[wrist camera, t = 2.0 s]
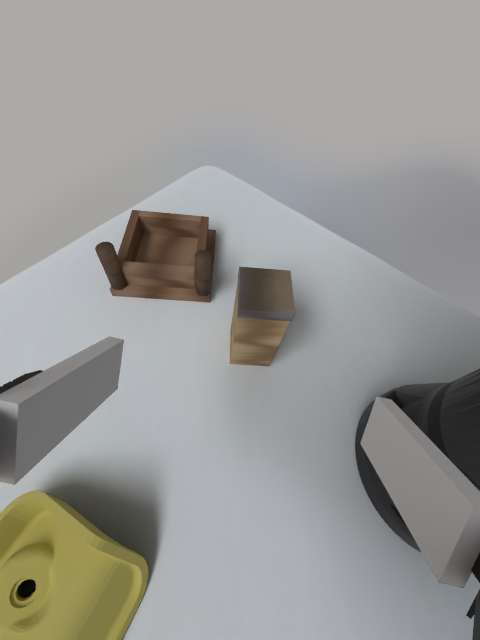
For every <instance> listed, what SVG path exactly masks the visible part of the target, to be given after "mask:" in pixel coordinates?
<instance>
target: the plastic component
mask: <svg viewBox="0 0 480 640" xmlns="http://www.w3.org/2000/svg"><path fill="white" fill-rule="evenodd" d="M27 579H32V580H34V581H35V583H36V590H35V591H34V592H33V593H32V594H31V595H30V596H29V597H26V598H21V597H19V596H18V594H17V589H18V587H19V585H20V584H21V583H22V582H23V581H25V580H27ZM147 582H148V566H147V562H146V561H145V559H144V558H143V557H142V556H141V555H140V554H138V553H137V552H135V551H133V550H131V549H128V548H126V547H124V546H123V545H121V544H119V543H118V542H116V541H114V540H113V539H111V538H110V537H109V536H107V535H106V534H104V533H103V532H102V531H101V530H99V529H98V528H97V527H96V526H95V525H93V524H92V523H91V522H90V521H88V520H87V519H86V518H85V517H84V516H82V515H81V514H80V513H79V512H77V511H76V510H75V509H74V508H72V507H71V506H70V505H69V504H68V503H66V502H64V501H62V500H59V499H57V498H55V497H53V496H51V495H49V494H46V493H44V492H41V491H31V492H28V493H26V494H23V495H22V496H20V497H18V498H17V499H15V500H14V501H13V502H12V503H10V504H9V505H8V506H7V507H6V508H5V509H4V510H3V511H2V512H1V513H0V640H122V638H123V636H124V634H125V632H126V630H127V628H128V626H129V624H130V622H131V620H132V618H133V617H134V615H135V613H136V611H137V609H138V607H139V605H140V603H141V601H142V599H143V596H144V593H145V590H146V587H147Z"/></svg>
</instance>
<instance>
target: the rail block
mask: <svg viewBox="0 0 480 640" xmlns="http://www.w3.org/2000/svg"><path fill="white" fill-rule="evenodd" d="M294 315H295V309H294V299H293V290H292V281H291V271H287V270H275V269H262V268H249V267H239V273H238V284H237V291H236V297H235V304H234V311H233V318H232V325H231V338H230V364H240V365H259V366H269V365H270V363H271V361H272V359H273V357H274V355H275V353H276V351H277V348H278V346H279V344H280V342H281V340H282V338H283V336H284V334H285V332H286V330H287V327H288V325H289V323H290V321H292V319H293V317H294Z"/></svg>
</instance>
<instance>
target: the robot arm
mask: <svg viewBox="0 0 480 640" xmlns="http://www.w3.org/2000/svg"><path fill="white" fill-rule="evenodd" d="M123 343H124V340H122V339H118V338H114V337H107V338H106V339H104V340H102V341H100V342H98V343H96V344H94V345H92V346H90V347H89V348H87V349H85V350H83V351H81V352H79V353H77V354H75V355H73V356H71V357H70V358H68V359H66V360H64V361H62V362H60V363H58V364H56V365H54V366H53V367H51V368H49V369H47V370H45V371H41V370H39V371H35V372H32V373H28V374H24V375H22V376H20V377H18V378H16V379H14V380H13V382H12V381H10V382H8V383H6V384H4V385H3V387H2V386H0V482H4V483H8V484H12V485H15V484H16V483H17V482H18V481H19V480H20V479H21V478H22V477H24V476H25V475H26V474H27V473H28V472H29V471H30V470H31V469H32V468H33V467H34V466H35V465H36V464H37V463H38V462H40V461H41V460H42V459H43V458H44V457H45V456H46V455H47V454H48V453H49V452H50V451H51V450H52V449H53V448H55V447H56V446H57V445H58V444H59V443H60V442H61V441H62V440H63V439H64V438H65V437H66V436H67V435H68V434H70V433H71V432H72V431H73V430H74V429H75V428H76V427H77V426H78V425H79V424H80V423H81V422H82V421H83V420H85V419H86V418H87V417H88V416H89V415H90V414H91V413H92V412H93V411H94V410H95V409H96V408H97V407H98V406H99V405H101V404H102V403H103V402H104V401H105V400H106V399H107V398H108V397H109V396H110V395H111V394H112V393H113V392H114V391H116V390H117V389H118V381H119V373H120V366H121V358H122V350H123ZM355 449H356V460H357V465H358V470H359V473H360V477H361V480H362V483H363V485H364V488H365V490H366V492H367V494H368V496H369V498H370V500H371V502H372V504H373V505H374V507H375V508H376V510H377V511H378V513H379V514H380V516H381V517H382V518H383V520H384V521H385V522H386V523H387V524H388V526H389V527H390V528H391V529H392V530H393V531H394V532H395V533H396V534H397V535H398V536H399V537H400V538H401V539H403V540H404V541H405V542H406V543H408V544H409V545H410V546H412V547H413V548H415V549H416V550H418V551H420V552H421V553H422V554H423V555H424V557H425V559H426V561H427V563H428V564H429V566H430V568H431V570H432V571H433V573H434V575H435V577H436V578H437V580H438V582H440V583H445V584H449V585H453V586H458V587H462V588H464V586H465V584H466V582H467V580H468V578H469V576H470V574H471V572H473V574H474V575H475V577H476V578H477V580H478V581H479V582H480V369H478V370H476V371H474V372H472V373H470V374H468V375H465V376H463V377H461V378H459V379H457V380H455V381H453V382H451V383H438V384H414V385H406V386H402V387H398V388H395V389H393V390H391V391H389V392H387V393H385V394H384V395H382V396H380V397H378V396H376V399H375V400H374V401H373V402H372V403H371V404H370V405H369V406H368V407H367V409H366V410H365V412H364V413H363V415H362V417H361V419H360V422H359V425H358V428H357V433H356V443H355ZM473 615H475V616H474V628H473V639H472V640H480V590H479V592H478V594H477V595H476V597H475V599H474V601H473V603H472V605H471V607H470V609H469V611H468V613H467V616H468V617H469V618H470V619H471V618H472V617H473Z"/></svg>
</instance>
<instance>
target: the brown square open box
mask: <svg viewBox="0 0 480 640" xmlns="http://www.w3.org/2000/svg"><path fill="white" fill-rule="evenodd" d="M208 219H209V217H203V216H192V215H181V214H170V213H159V212H148V211H137V210H132V213H131V216H130V219H129V222H128V225H127V228H126V231H125V234H124V237H123V240H122V243H121V246H120V249H119V252H118V255H117V254H116V251H115V249H114V246H113V244H112V243H110V242H102V243H99V244H98V245H97V246H96V248H95V250H96V252H97V255H98V257H99V259H100V261H101V264H102V266H103V268H104V270H105V273H106V275H107V277H108V279H109V282H110V284H111V288H110V291H111V293H112V295H113V296H125V297H140V298H154V299H169V300H184V301H198V302H210V297H211V285H212V273H213V261H214V249H215V237H216V230H208Z"/></svg>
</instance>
